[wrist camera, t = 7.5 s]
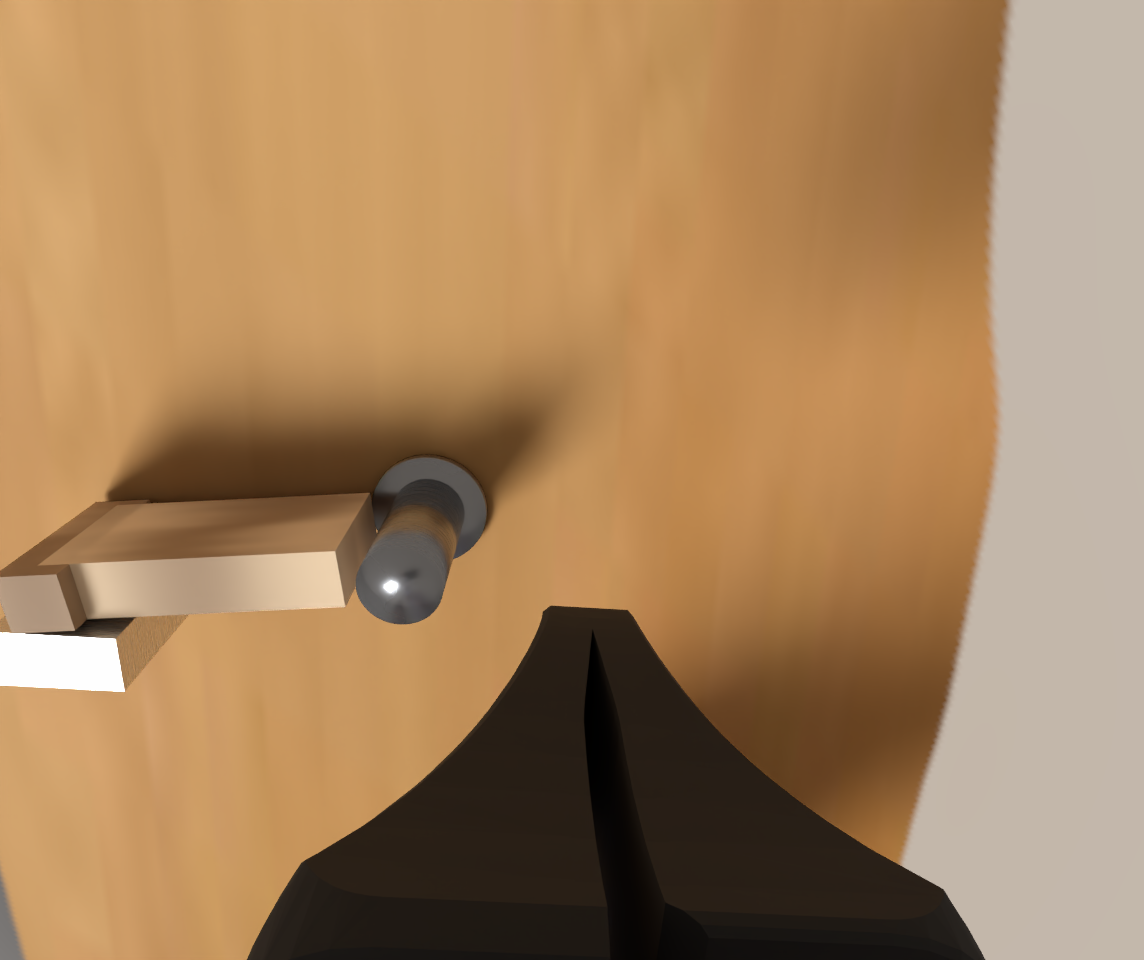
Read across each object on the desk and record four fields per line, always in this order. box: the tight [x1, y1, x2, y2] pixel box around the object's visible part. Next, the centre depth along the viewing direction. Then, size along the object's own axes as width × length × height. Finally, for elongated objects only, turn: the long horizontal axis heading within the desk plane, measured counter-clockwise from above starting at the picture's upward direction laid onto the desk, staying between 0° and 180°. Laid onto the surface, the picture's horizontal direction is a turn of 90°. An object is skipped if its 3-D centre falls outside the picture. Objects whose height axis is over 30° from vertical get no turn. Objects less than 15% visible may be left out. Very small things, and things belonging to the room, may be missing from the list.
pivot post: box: [356, 455, 487, 624], centre depth 20 cm, size 3×3×4 cm
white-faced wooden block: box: [0, 614, 189, 691], centre depth 21 cm, size 2×3×4 cm, turn 86°
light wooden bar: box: [0, 493, 377, 634], centre depth 20 cm, size 8×2×4 cm, turn 93°
